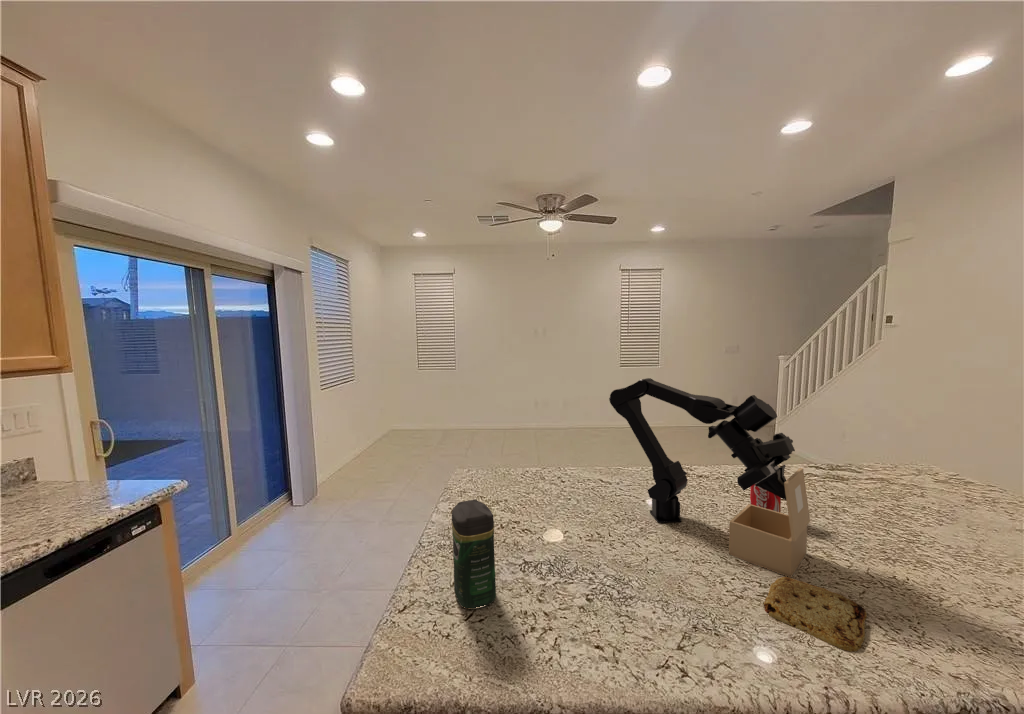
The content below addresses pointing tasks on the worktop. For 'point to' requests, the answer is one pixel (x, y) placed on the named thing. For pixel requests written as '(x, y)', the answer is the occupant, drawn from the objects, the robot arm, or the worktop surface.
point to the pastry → (817, 612)
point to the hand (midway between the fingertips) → (794, 502)
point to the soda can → (764, 499)
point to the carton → (766, 540)
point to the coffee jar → (473, 554)
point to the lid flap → (797, 503)
